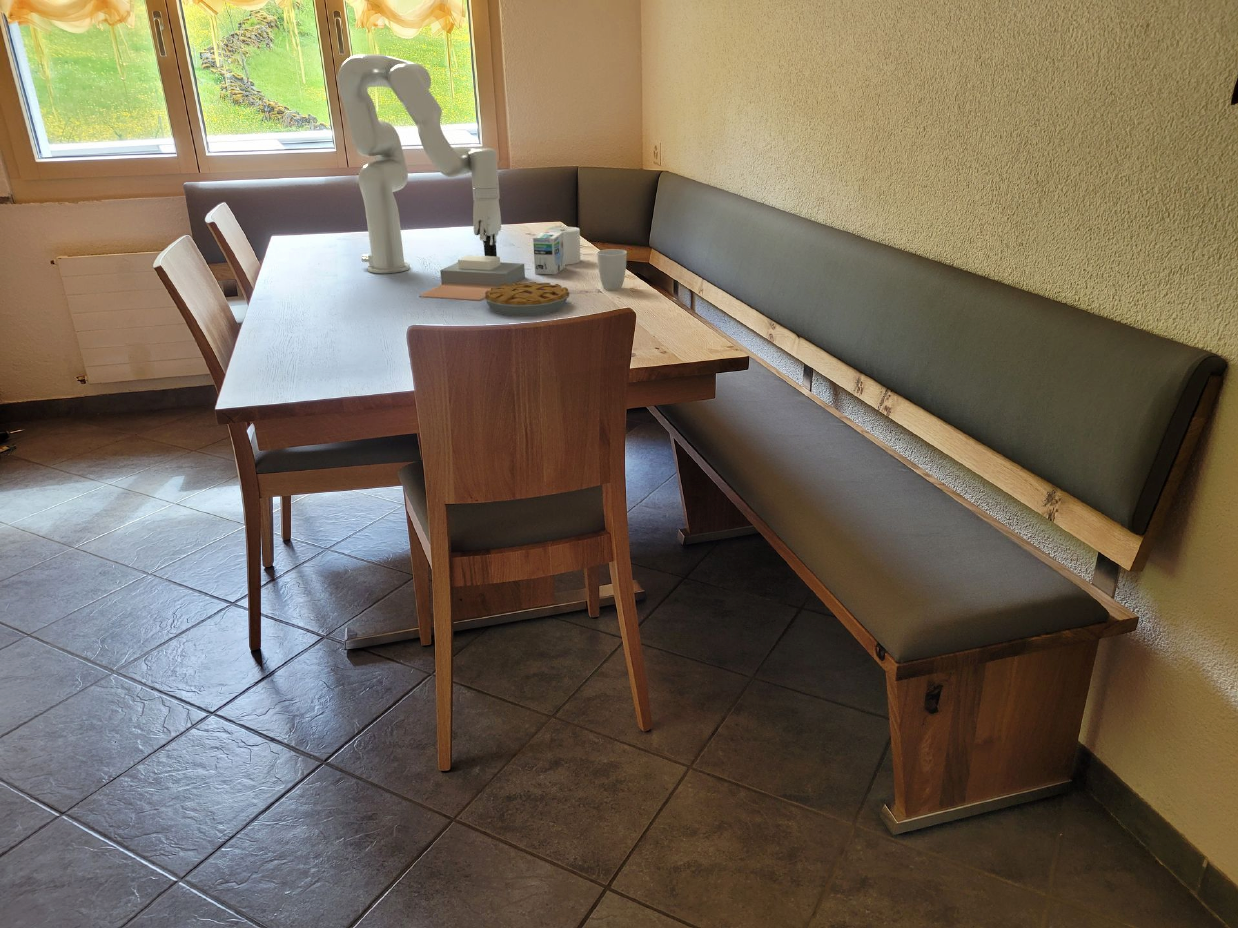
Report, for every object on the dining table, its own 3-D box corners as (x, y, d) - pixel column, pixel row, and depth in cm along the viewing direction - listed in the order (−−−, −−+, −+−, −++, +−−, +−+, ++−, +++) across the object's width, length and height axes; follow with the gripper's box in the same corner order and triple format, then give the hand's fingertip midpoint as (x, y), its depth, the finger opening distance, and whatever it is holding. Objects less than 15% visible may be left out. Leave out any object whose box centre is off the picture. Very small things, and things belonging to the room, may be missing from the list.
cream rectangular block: (458, 268, 252) (457, 260, 251) (469, 263, 258) (468, 255, 257) (490, 270, 249) (489, 261, 248) (500, 265, 255) (499, 256, 254)
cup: (630, 286, 246) (630, 250, 242) (621, 292, 239) (621, 255, 235) (603, 284, 249) (603, 248, 245) (593, 290, 242) (592, 254, 238)
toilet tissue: (560, 266, 271) (559, 233, 267) (537, 261, 279) (536, 229, 275) (587, 261, 277) (586, 229, 273) (564, 256, 286) (562, 225, 281)
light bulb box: (555, 275, 260) (554, 238, 256) (534, 274, 262) (532, 237, 257) (565, 267, 270) (563, 231, 265) (544, 267, 271) (542, 231, 267)
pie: (536, 322, 214) (535, 302, 212) (467, 311, 224) (465, 292, 222) (586, 303, 231) (585, 284, 228) (520, 293, 241) (519, 275, 239)
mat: (419, 296, 238) (419, 295, 238) (444, 284, 251) (444, 283, 251) (479, 300, 233) (479, 299, 233) (502, 288, 246) (502, 286, 246)
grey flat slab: (441, 284, 251) (440, 270, 250) (463, 273, 263) (462, 260, 262) (506, 288, 246) (505, 273, 244) (525, 277, 258) (524, 263, 256)
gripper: (484, 190, 260) (489, 252, 267) (462, 197, 247) (468, 262, 254) (508, 191, 258) (512, 253, 265) (487, 198, 245) (492, 264, 252)
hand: (490, 258), depth 260 cm, fingers closed
